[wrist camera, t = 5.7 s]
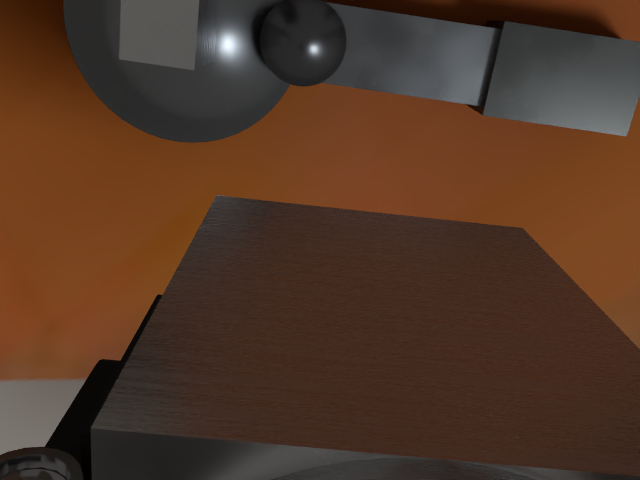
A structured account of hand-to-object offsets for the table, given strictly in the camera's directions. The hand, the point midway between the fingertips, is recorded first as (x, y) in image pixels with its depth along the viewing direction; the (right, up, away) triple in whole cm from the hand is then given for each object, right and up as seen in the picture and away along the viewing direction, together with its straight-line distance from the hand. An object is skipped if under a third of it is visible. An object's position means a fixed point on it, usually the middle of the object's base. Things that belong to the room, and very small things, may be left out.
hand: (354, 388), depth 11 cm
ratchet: (+1, +11, +15) cm, 18 cm away
